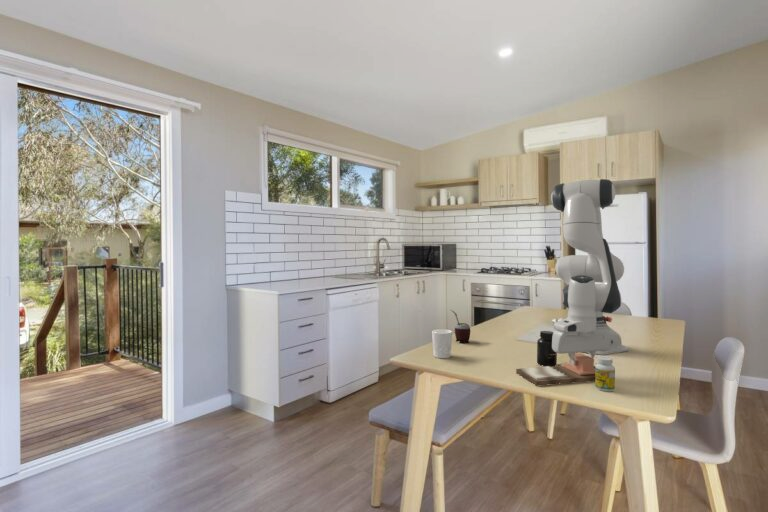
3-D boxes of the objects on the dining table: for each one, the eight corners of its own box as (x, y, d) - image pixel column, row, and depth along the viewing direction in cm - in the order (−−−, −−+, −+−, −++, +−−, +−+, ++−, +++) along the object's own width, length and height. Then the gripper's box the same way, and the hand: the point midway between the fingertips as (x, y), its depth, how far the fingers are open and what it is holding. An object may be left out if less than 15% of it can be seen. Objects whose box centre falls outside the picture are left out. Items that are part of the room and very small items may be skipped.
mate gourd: (472, 341, 192) (472, 308, 191) (466, 344, 185) (466, 310, 185) (457, 339, 196) (457, 307, 195) (450, 342, 189) (450, 309, 189)
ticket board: (588, 367, 152) (588, 361, 152) (614, 379, 139) (614, 372, 139) (516, 373, 146) (516, 366, 146) (536, 386, 134) (536, 379, 134)
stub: (582, 364, 149) (582, 351, 149) (602, 373, 140) (602, 359, 139) (562, 366, 148) (562, 353, 148) (580, 375, 138) (580, 361, 138)
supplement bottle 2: (618, 390, 129) (619, 359, 129) (606, 393, 127) (607, 361, 127) (603, 384, 134) (603, 354, 134) (591, 387, 132) (591, 357, 131)
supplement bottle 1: (554, 368, 152) (555, 334, 151) (535, 365, 155) (535, 332, 155) (558, 363, 157) (558, 331, 157) (539, 360, 161) (539, 329, 160)
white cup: (454, 354, 170) (454, 330, 170) (449, 359, 163) (448, 334, 163) (435, 352, 174) (435, 328, 173) (429, 357, 167) (429, 332, 166)
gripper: (602, 320, 148) (602, 360, 149) (549, 323, 145) (549, 363, 145) (615, 324, 142) (615, 365, 143) (560, 327, 138) (560, 369, 139)
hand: (581, 364), depth 144 cm, fingers closed on stub, 4 cm apart
